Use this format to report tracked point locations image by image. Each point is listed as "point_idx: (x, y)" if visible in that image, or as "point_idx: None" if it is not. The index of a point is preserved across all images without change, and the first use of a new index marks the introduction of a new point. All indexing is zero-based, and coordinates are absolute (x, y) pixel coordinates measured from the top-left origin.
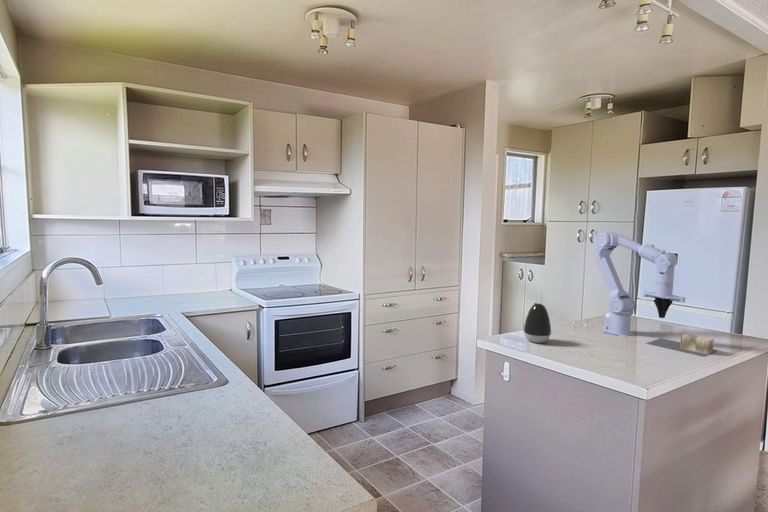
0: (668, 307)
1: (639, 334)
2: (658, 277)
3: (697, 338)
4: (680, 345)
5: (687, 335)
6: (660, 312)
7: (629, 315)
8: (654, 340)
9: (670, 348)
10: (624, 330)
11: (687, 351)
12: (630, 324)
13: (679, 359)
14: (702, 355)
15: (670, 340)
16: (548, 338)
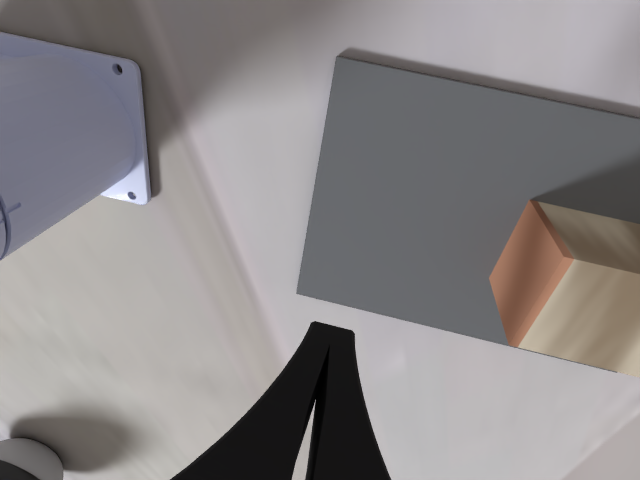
0: (378, 469)
1: (160, 10)
2: None
3: (633, 370)
4: (494, 291)
5: (563, 321)
6: (304, 432)
7: (12, 225)
8: (318, 184)
9: (434, 315)
10: (105, 190)
11: None
12: (75, 139)
13: (480, 434)
14: None
15: (419, 86)
16: (56, 472)
